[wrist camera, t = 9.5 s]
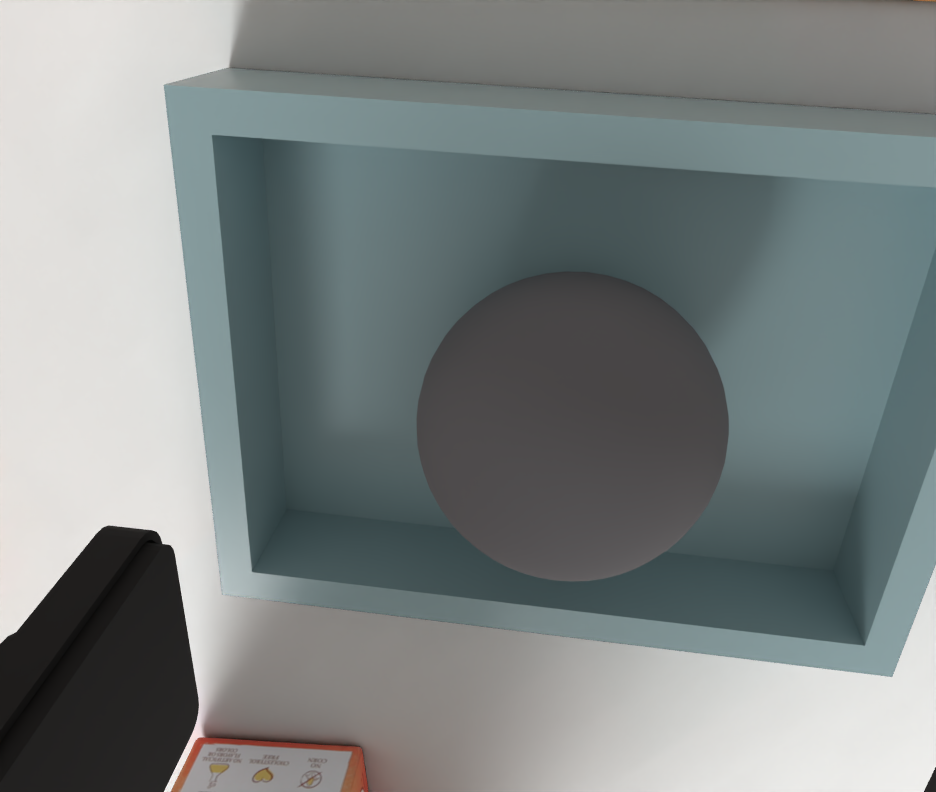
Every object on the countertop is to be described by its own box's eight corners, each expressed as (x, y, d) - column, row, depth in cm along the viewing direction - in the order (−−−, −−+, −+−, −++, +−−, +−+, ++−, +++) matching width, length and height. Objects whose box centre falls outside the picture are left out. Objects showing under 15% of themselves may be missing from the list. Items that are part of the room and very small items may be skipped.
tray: (151, -130, 16) (65, -150, 13) (1153, -85, 14) (1283, -97, 12) (222, 516, 23) (174, 588, 20) (901, 594, 21) (947, 683, 19)
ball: (446, 221, 18) (386, 329, 13) (731, 245, 17) (793, 369, 12) (438, 458, 21) (385, 627, 15) (683, 485, 20) (716, 671, 15)
